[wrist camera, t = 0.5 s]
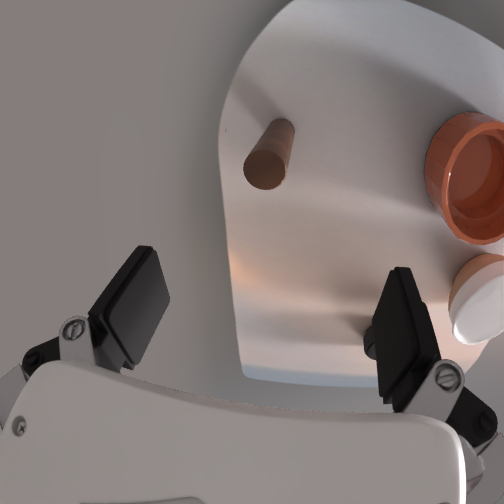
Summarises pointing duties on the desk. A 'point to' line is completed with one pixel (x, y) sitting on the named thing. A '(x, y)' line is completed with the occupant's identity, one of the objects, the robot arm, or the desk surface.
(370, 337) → the smart speaker
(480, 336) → the bowl
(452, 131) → the mixing bowl
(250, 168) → the stick
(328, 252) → the desk surface
